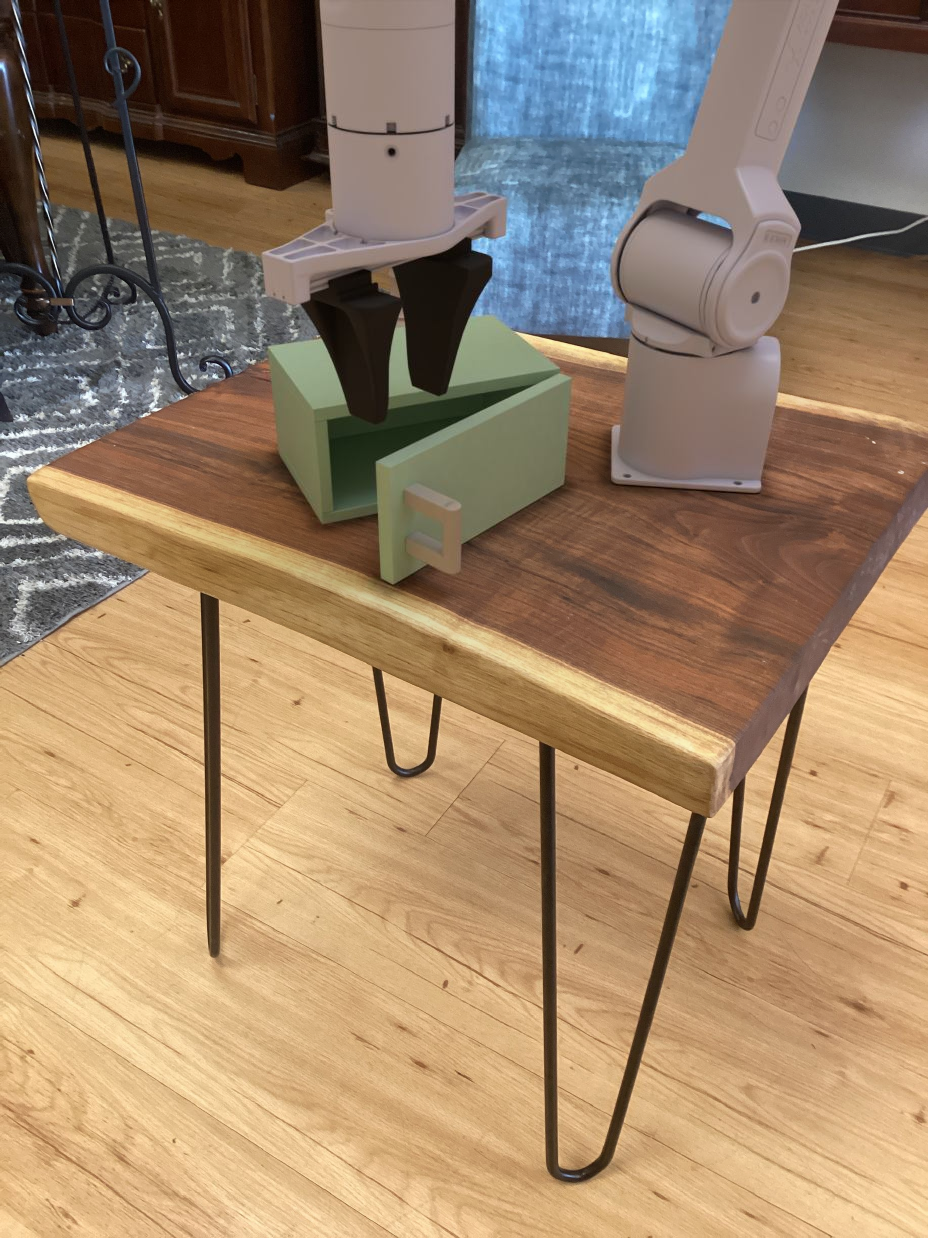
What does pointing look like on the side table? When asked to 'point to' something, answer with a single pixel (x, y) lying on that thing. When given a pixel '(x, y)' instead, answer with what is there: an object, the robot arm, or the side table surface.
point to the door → (470, 478)
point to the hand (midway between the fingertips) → (399, 402)
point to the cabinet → (349, 447)
